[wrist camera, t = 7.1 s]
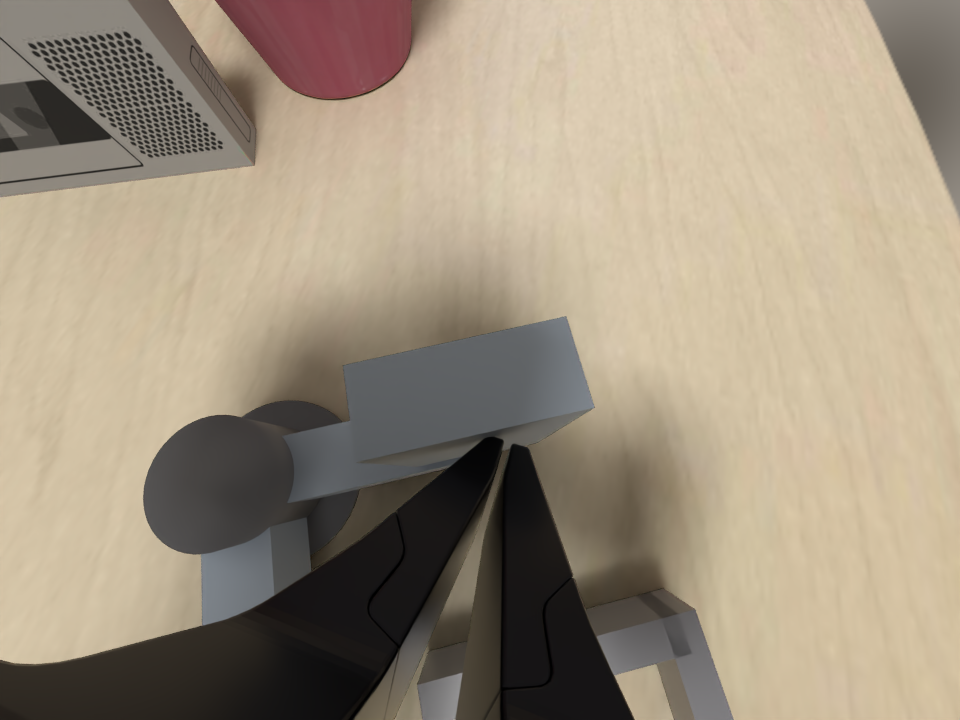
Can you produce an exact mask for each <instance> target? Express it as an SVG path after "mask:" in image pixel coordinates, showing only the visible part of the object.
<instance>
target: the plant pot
mask: <svg viewBox="0 0 960 720" xmlns="http://www.w3.org/2000/svg"><path fill="white" fill-rule="evenodd" d="M215 1H216V2H217V3H218V5H219V6H220V7H221V8H222V9H223V11H224V12H225V13H226V14H227V16H228V17H229V18H230V19H231V20H232V22H233V23H234V24H235V25H236V27H237V28H238V29H239V30H240V31H241V33H242V34H243V35H244V36H245V38H246V39H247V40H248V41H249V42H250V44H251V45H252V46H253V47H254V48H255V50H256V51H257V52H258V53H259V54H260V56H261V57H262V58H263V59H264V60H265V62H266V63H267V64H268V65H269V67H270V68H271V69H272V70H273V72H274V73H275V74H276V76H277V77H278V78H279V79H280V80H281V81H282V82H283V83H284V84H286V85H287V86H288V87H290V88H292V89H293V90H295V91H297V92H299V93H302V94H305V95H308V96H312V97H317V98H325V99H335V98H346V97H352V96H356V95H360V94H363V93H366V92H369V91H371V90H373V89H375V88H377V87H379V86H380V85H382V84H384V83H385V82H387V81H388V80H389V79H390V78H392V77H393V76H394V75H395V74H396V73H397V72H398V71H399V70H400V68H401V67H402V66H403V64H404V62H405V61H406V59H407V56H408V54H409V51H410V46H411V1H412V0H215Z"/></svg>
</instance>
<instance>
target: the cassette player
mask: <svg viewBox="0 0 960 720" xmlns="http://www.w3.org/2000/svg"><path fill="white" fill-rule="evenodd" d="M255 144H256V128H255V127H254V125H253V124H252V122H251V121H250V119H249V118H248V116H247V115H246V114H245V112H244V111H243V109H242V108H241V106H240V105H239V103H238V102H237V100H236V99H235V97H234V96H233V94H232V93H231V92H230V90H229V89H228V87H227V86H226V84H225V83H224V81H223V80H222V78H221V77H220V75H219V74H218V72H217V71H216V70H215V68H214V67H213V65H212V64H211V62H210V61H209V59H208V58H207V56H206V55H205V53H204V52H203V50H202V49H201V47H200V46H199V45H198V43H197V42H196V40H195V39H194V37H193V36H192V34H191V33H190V31H189V30H188V28H187V27H186V25H185V24H184V23H183V21H182V20H181V18H180V17H179V15H178V14H177V12H176V11H175V9H174V8H173V6H172V5H171V3H170V2H169V1H168V0H0V197H7V196H15V195H23V194H31V193H39V192H47V191H55V190H63V189H71V188H79V187H87V186H95V185H103V184H111V183H119V182H127V181H136V180H144V179H152V178H160V177H168V176H176V175H184V174H192V173H200V172H208V171H216V170H224V169H232V168H240V167H248V166H255Z"/></svg>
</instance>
